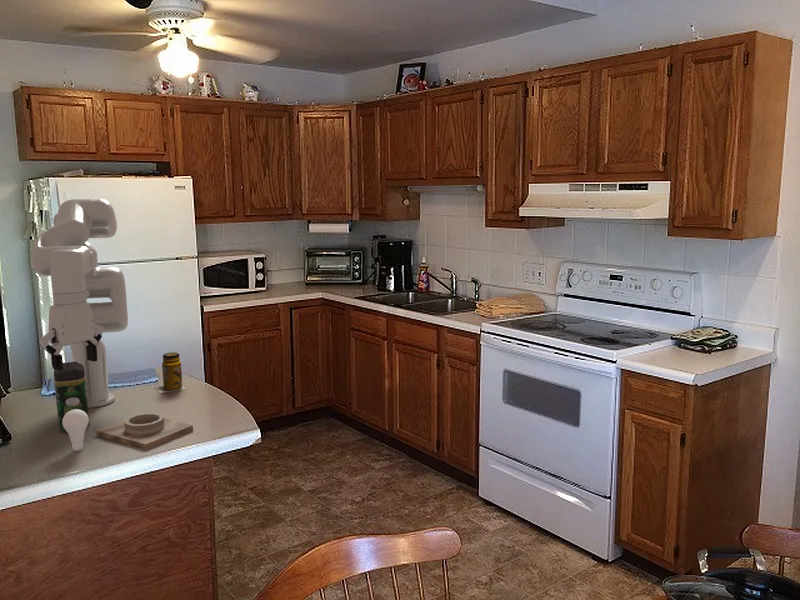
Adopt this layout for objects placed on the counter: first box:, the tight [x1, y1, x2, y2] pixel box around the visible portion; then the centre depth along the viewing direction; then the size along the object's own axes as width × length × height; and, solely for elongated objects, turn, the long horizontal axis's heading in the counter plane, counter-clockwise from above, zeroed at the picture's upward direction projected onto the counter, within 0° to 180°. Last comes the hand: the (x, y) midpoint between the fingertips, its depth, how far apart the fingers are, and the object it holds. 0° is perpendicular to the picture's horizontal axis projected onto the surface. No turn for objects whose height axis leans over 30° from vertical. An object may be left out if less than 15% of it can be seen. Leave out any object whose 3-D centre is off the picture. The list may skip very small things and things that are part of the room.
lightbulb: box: [62, 409, 90, 452], centre depth 173 cm, size 6×6×11 cm
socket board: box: [95, 412, 194, 450], centre depth 186 cm, size 20×16×4 cm
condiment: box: [154, 351, 187, 394], centre depth 225 cm, size 7×8×12 cm
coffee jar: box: [53, 361, 90, 433], centre depth 189 cm, size 10×8×19 cm
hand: (75, 365), depth 171 cm, fingers open, 9 cm apart
